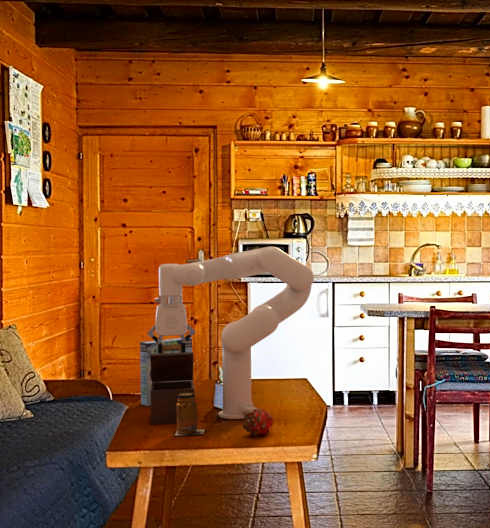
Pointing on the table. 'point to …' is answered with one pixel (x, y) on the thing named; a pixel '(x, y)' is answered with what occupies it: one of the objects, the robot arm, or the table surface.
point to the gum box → (145, 364)
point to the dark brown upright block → (171, 365)
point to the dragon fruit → (258, 422)
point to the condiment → (187, 415)
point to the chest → (167, 400)
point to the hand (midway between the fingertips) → (171, 354)
